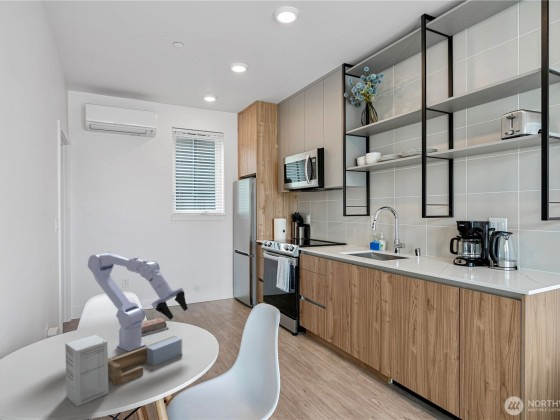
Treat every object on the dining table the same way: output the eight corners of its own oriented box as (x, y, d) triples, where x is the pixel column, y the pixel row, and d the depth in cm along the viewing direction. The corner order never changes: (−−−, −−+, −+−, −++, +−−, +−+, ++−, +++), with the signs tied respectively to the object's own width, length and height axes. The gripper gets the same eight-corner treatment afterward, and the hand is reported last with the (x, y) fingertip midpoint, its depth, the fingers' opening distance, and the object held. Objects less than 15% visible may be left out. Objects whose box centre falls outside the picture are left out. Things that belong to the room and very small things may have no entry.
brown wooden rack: (101, 376, 118) (101, 359, 118) (173, 348, 142) (173, 333, 142) (116, 385, 112) (116, 367, 112) (188, 354, 136) (188, 339, 136)
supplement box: (97, 384, 113) (96, 334, 113) (109, 393, 107) (109, 340, 107) (65, 396, 106) (64, 342, 105) (76, 407, 100) (75, 350, 100)
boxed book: (146, 362, 129) (146, 347, 129) (175, 351, 139) (175, 336, 139) (153, 366, 126) (153, 350, 126) (182, 353, 137) (182, 339, 137)
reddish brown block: (159, 315, 172) (168, 320, 165) (159, 325, 172) (168, 330, 165) (123, 324, 159) (131, 329, 152) (123, 334, 159) (131, 340, 152)
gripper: (150, 289, 131) (169, 318, 129) (178, 275, 143) (196, 301, 141) (143, 297, 135) (161, 326, 132) (171, 283, 147) (189, 309, 144)
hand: (179, 314), depth 137 cm, fingers open, 7 cm apart
